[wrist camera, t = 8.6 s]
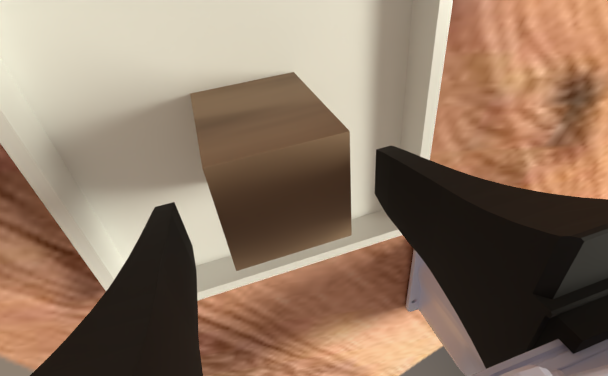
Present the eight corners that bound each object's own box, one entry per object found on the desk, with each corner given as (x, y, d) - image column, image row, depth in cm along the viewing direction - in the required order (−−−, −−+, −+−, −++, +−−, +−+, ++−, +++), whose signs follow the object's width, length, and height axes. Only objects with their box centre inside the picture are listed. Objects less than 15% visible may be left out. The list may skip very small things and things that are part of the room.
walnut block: (303, 158, 18) (351, 235, 13) (216, 180, 17) (236, 271, 13) (293, 72, 15) (349, 131, 11) (190, 93, 15) (202, 167, 10)
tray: (398, 205, 23) (419, 229, 21) (131, 285, 20) (128, 322, 18) (426, -109, 14) (470, -116, 12) (-82, -53, 10) (-137, -49, 8)
